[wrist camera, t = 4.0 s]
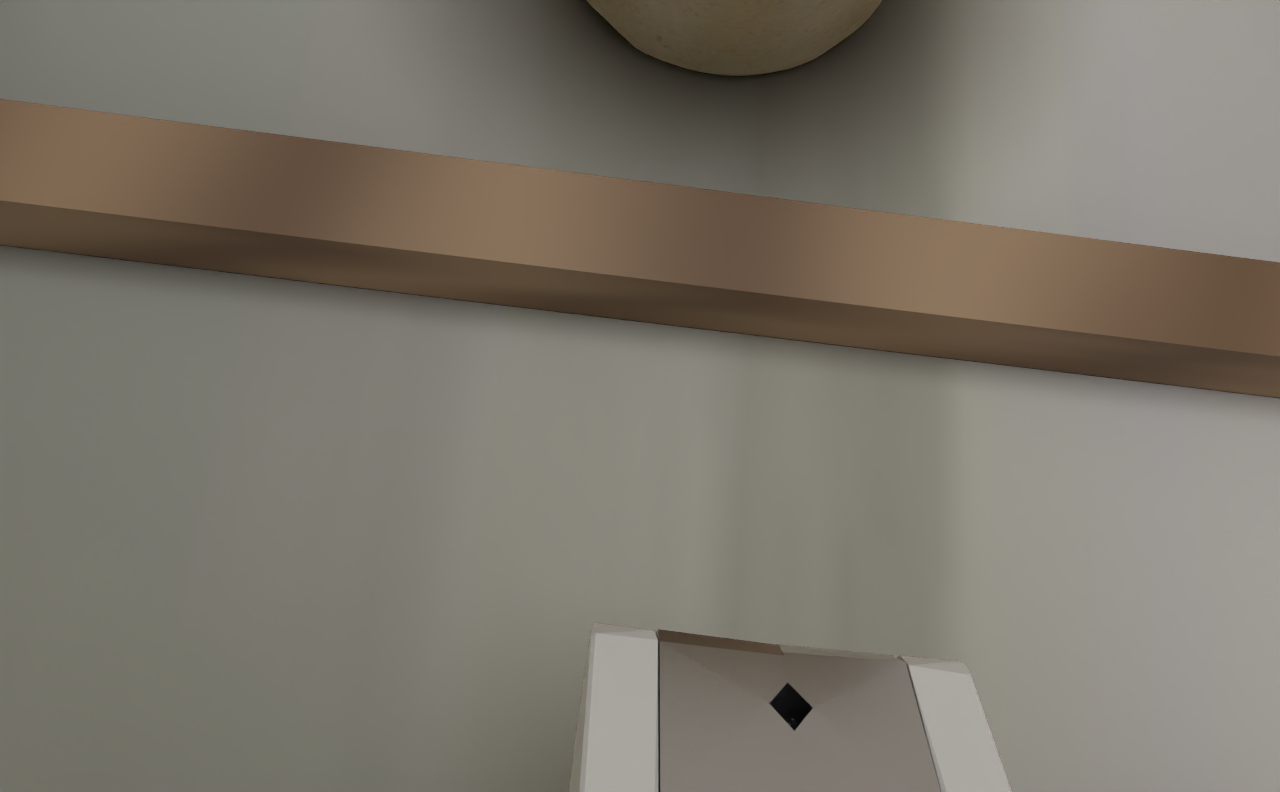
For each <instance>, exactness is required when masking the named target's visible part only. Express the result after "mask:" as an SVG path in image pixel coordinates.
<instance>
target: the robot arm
mask: <svg viewBox="0 0 1280 792" xmlns="http://www.w3.org/2000/svg"><path fill="white" fill-rule="evenodd" d="M569 792H1012V790H1011V787H1010V784H1009V782H1008V779H1007V776H1006V773H1005V770H1004V767H1003V764H1002V761H1001V759H1000V756H999V753H998V750H997V747H996V744H995V741H994V738H993V736H992V733H991V730H990V727H989V724H988V721H987V718H986V715H985V713H984V710H983V707H982V704H981V701H980V698H979V695H978V692H977V689H976V687H975V684H974V681H973V678H972V675H971V672H970V671H969V669H968V668H967V667H966V666H965V665H964V664H963V663H962V662H961V661H952V660H942V659H931V658H920V657H909V656H899V657H895V656H893V655H882V654H872V653H862V652H851V651H841V650H831V649H820V648H810V647H799V646H789V645H779V644H776V645H774V644H766V643H758V642H751V641H743V640H735V639H728V638H720V637H712V636H704V635H697V634H689V633H681V632H674V631H666V630H657V632H656V634H655V631H653V630H646V629H639V628H631V627H624V626H617V625H609V624H602V623H595V622H594V624H593V627H592V630H591V634H590V641H589V648H588V654H587V661H586V668H585V675H584V682H583V689H582V696H581V703H580V710H579V716H578V724H577V732H576V739H575V747H574V755H573V763H572V771H571V778H570V788H569Z"/></svg>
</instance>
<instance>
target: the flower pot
mask: <svg viewBox="0 0 1280 792" xmlns="http://www.w3.org/2000/svg"><path fill="white" fill-rule="evenodd" d="M586 1H587V2H588V3H589V4H590V5H591V6H592V7H593V8H594V9H595V10H596V11H597V12H598V13H600V14H601V15H602V16H603V17H604V18H605V19H606V20H607V21H608V22H609V23H610V24H611V25H612V26H613V27H614V28H615V29H616V30H617V31H618V32H619V33H620V34H621V35H622V36H623V37H625V38H626V39H627V40H628V41H629V42H630V43H631V44H632V45H633V46H634V47H635V48H637V49H638V50H640V51H642V52H643V53H646V54H648V55H650V56H652V57H654V58H657V59H659V60H662V61H665V62H668V63H671V64H674V65H677V66H680V67H683V68H686V69H689V70H694V71H699V72H704V73H711V74H718V75H731V76H743V75H755V74H764V73H771V72H776V71H781V70H786V69H790V68H793V67H796V66H799V65H801V64H804V63H806V62H809V61H811V60H814V59H815V58H817V57H819V56H820V55H822V54H823V53H825V52H826V51H828V50H829V49H831V48H832V47H833V46H835V45H836V44H838V43H839V42H841V41H842V40H843V39H845V38H846V37H848V36H849V35H850V34H852V33H853V32H854V31H856V30H857V29H858V28H859V27H860V26H861V25H862V24H863V23H864V22H865V21H866V20H867V19H868V18H869V17H870V16H871V15H872V14H873V12H874V11H875V10H876V8H877V7H878V6H879V4H880V3H881V2H882V0H586Z"/></svg>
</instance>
